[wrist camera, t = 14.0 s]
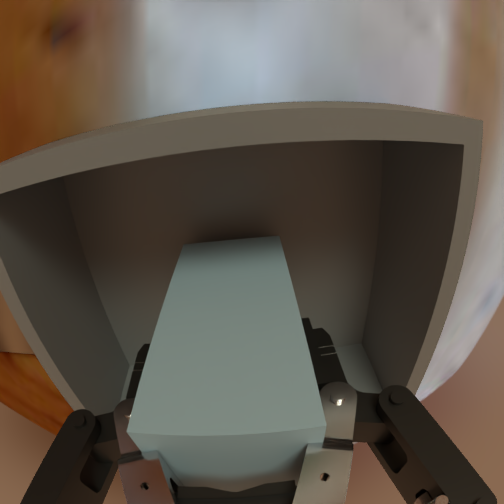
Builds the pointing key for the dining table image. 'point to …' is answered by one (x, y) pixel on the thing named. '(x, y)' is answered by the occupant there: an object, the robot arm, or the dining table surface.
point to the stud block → (11, 332)
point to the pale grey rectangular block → (229, 371)
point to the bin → (241, 230)
